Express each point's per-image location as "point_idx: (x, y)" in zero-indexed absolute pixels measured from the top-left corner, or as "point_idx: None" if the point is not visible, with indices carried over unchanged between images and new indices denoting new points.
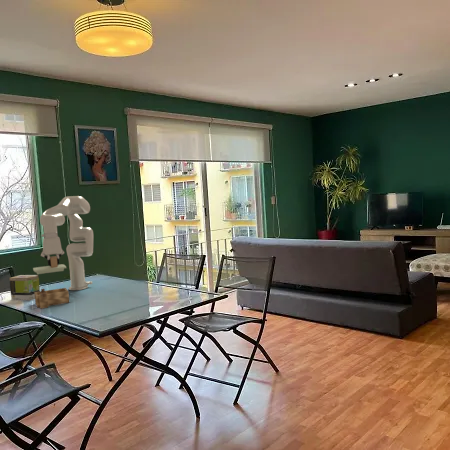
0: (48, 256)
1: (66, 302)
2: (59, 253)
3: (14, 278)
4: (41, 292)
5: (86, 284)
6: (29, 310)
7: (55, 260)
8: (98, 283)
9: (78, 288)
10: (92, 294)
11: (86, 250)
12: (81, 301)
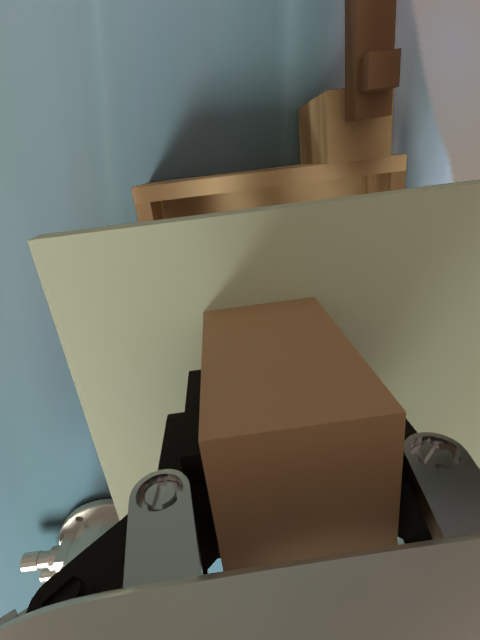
0: (477, 513)
1: (168, 180)
2: (52, 604)
3: None
4: (391, 38)
5: (60, 546)
6: (423, 99)
7: (242, 372)
8: (11, 593)
9: (109, 506)
10: (4, 349)
11: None
12: (58, 167)
